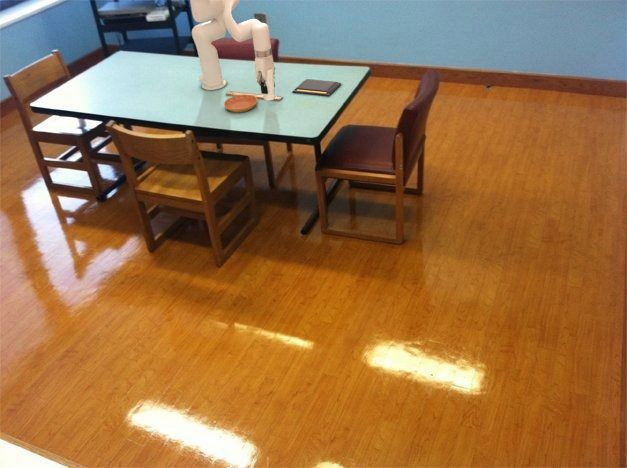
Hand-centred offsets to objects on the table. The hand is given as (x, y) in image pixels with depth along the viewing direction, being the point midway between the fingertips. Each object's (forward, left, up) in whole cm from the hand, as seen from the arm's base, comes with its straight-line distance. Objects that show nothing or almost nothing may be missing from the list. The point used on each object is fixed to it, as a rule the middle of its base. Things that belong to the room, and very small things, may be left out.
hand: (268, 90), depth 276 cm
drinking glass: (0, 0, -5) cm, 5 cm away
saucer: (-14, -3, -9) cm, 17 cm away
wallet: (+13, +25, -9) cm, 29 cm away
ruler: (-14, +9, -9) cm, 19 cm away
